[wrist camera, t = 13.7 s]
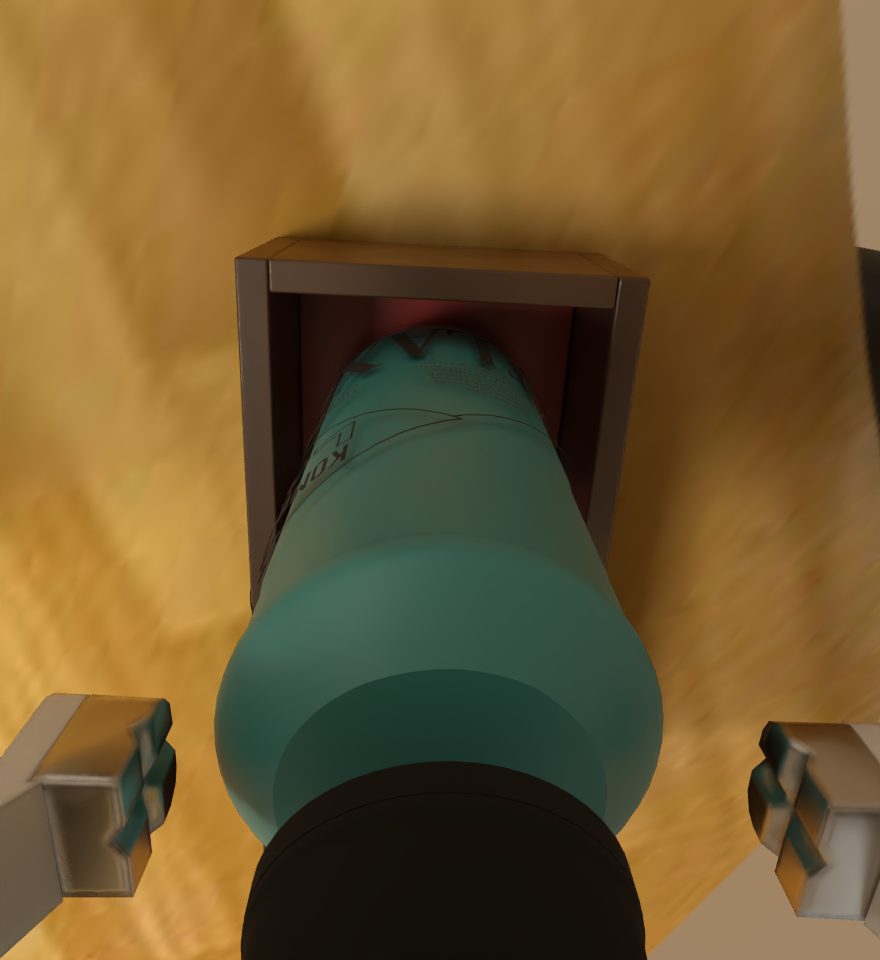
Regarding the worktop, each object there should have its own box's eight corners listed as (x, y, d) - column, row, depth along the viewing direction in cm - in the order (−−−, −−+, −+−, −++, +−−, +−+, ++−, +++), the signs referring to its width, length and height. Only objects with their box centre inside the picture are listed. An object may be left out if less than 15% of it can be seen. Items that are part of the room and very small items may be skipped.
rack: (601, 253, 24) (652, 277, 19) (539, 746, 31) (562, 862, 26) (275, 236, 23) (234, 257, 18) (289, 740, 31) (263, 856, 26)
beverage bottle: (555, 334, 24) (1011, 908, 5) (499, 521, 26) (684, 1357, 8) (350, 285, 23) (70, 753, 5) (312, 481, 26) (31, 1301, 7)
